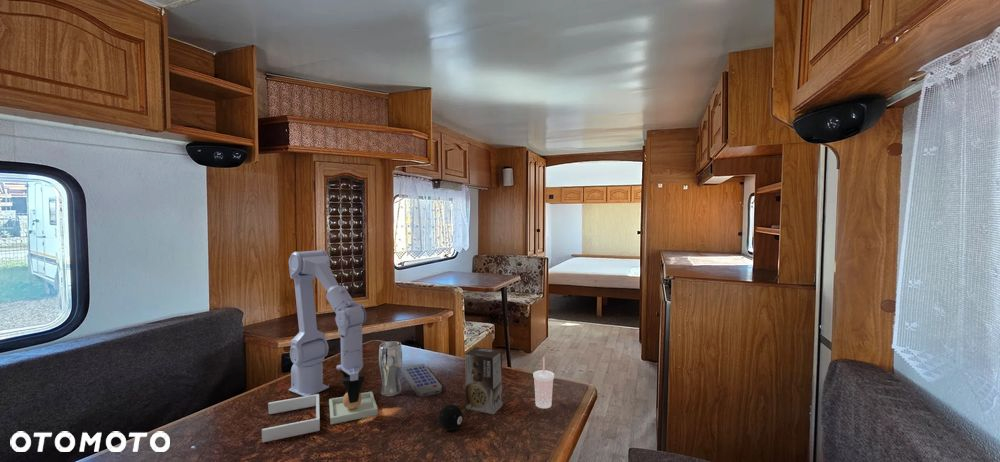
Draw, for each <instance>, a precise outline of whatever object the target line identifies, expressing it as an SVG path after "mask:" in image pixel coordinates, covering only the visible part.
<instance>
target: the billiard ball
mask: <svg viewBox="0 0 1000 462" xmlns="http://www.w3.org/2000/svg"><path fill="white" fill-rule="evenodd" d="M463 418H464V415H463V411H462V409H461V408H460V407H459V406H458V405H457V404H456V405H455V404H447V405H445V406H443V407H442V409H441V410H440V412H439V414H438V422H439V424H440V426H441V428H442V429H444V430H445V431H455V430H457V429H458V428H460V426H461V424H462V423H463V420H464V419H463Z"/></svg>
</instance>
